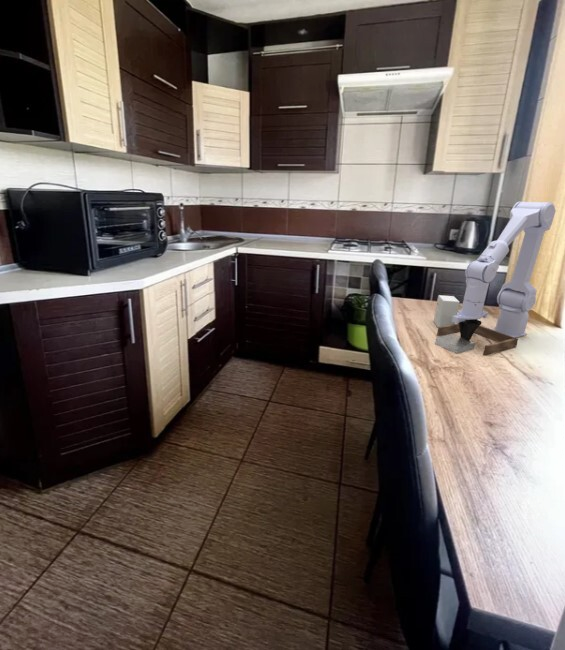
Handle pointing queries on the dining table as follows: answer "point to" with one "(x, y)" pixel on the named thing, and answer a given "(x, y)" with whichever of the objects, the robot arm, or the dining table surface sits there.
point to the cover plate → (454, 343)
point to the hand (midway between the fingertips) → (464, 340)
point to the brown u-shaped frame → (502, 339)
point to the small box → (445, 310)
